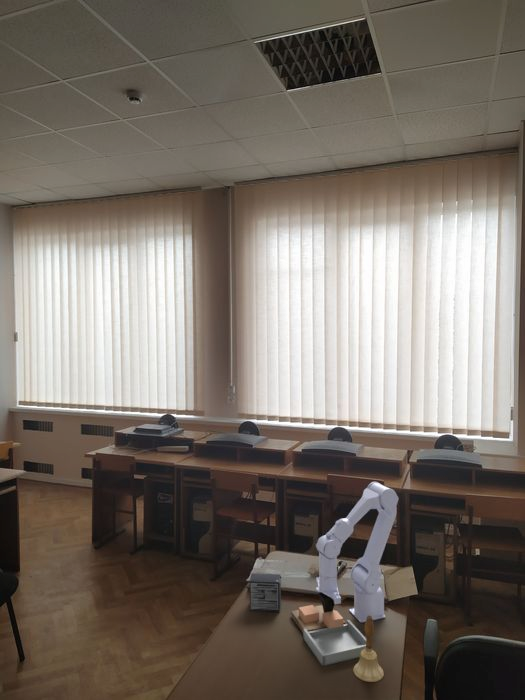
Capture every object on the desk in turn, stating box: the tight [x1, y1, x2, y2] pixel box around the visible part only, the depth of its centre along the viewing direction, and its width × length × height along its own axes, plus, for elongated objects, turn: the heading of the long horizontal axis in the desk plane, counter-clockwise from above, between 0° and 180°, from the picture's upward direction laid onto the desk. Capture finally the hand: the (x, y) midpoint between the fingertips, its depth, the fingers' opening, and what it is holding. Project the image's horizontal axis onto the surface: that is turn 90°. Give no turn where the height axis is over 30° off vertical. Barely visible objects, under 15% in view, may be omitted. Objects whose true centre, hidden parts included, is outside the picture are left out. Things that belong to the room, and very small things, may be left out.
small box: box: [249, 573, 282, 613], centre depth 177 cm, size 11×6×10 cm, turn 84°
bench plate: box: [290, 604, 347, 634], centre depth 167 cm, size 14×12×2 cm
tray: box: [302, 619, 366, 667], centre depth 154 cm, size 16×14×3 cm
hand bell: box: [353, 616, 384, 683], centre depth 142 cm, size 8×8×16 cm
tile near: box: [322, 609, 344, 629], centre depth 163 cm, size 5×5×2 cm
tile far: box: [298, 604, 319, 623], centre depth 166 cm, size 5×5×2 cm
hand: (328, 614), depth 166 cm, fingers closed
